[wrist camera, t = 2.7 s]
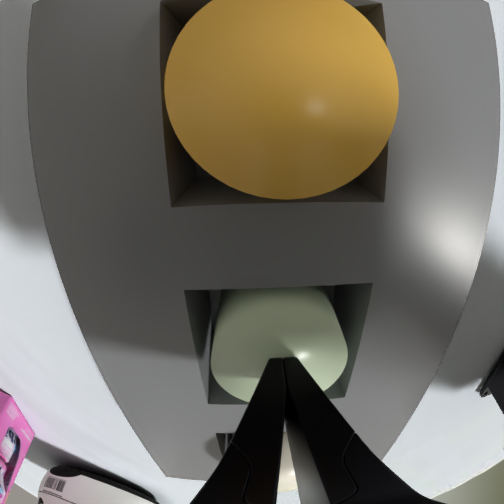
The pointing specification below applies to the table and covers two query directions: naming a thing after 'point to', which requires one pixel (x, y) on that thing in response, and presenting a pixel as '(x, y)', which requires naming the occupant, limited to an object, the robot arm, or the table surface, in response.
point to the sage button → (275, 336)
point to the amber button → (281, 94)
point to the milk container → (85, 489)
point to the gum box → (11, 443)
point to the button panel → (257, 218)
